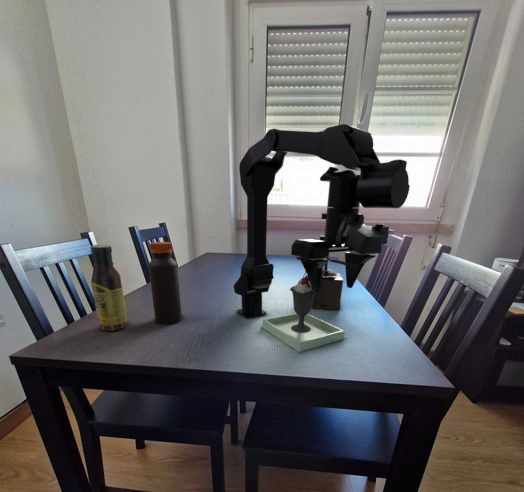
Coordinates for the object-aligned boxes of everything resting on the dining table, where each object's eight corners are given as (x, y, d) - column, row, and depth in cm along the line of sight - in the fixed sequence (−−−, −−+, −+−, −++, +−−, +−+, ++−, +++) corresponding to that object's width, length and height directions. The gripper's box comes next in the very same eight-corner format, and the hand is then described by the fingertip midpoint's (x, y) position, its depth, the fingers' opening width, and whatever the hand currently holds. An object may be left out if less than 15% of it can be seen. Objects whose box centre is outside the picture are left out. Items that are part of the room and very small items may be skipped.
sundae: (298, 336, 66) (302, 272, 60) (282, 326, 71) (285, 267, 66) (320, 331, 69) (326, 270, 63) (303, 322, 74) (308, 265, 69)
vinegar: (175, 325, 72) (167, 245, 65) (150, 323, 73) (139, 243, 66) (186, 316, 78) (179, 242, 71) (163, 314, 79) (154, 241, 72)
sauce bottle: (96, 327, 70) (79, 245, 63) (121, 320, 74) (108, 243, 67) (106, 335, 66) (89, 248, 58) (132, 327, 70) (120, 245, 63)
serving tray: (262, 327, 72) (262, 319, 71) (302, 318, 78) (303, 311, 77) (299, 351, 60) (299, 342, 59) (343, 339, 66) (344, 330, 65)
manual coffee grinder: (305, 308, 86) (310, 248, 79) (305, 298, 96) (309, 244, 90) (358, 312, 84) (367, 250, 78) (352, 301, 94) (360, 246, 88)
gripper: (338, 206, 41) (327, 309, 46) (414, 209, 50) (397, 294, 55) (291, 206, 49) (287, 292, 55) (364, 208, 59) (353, 282, 64)
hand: (333, 290), depth 57 cm, fingers open, 9 cm apart
